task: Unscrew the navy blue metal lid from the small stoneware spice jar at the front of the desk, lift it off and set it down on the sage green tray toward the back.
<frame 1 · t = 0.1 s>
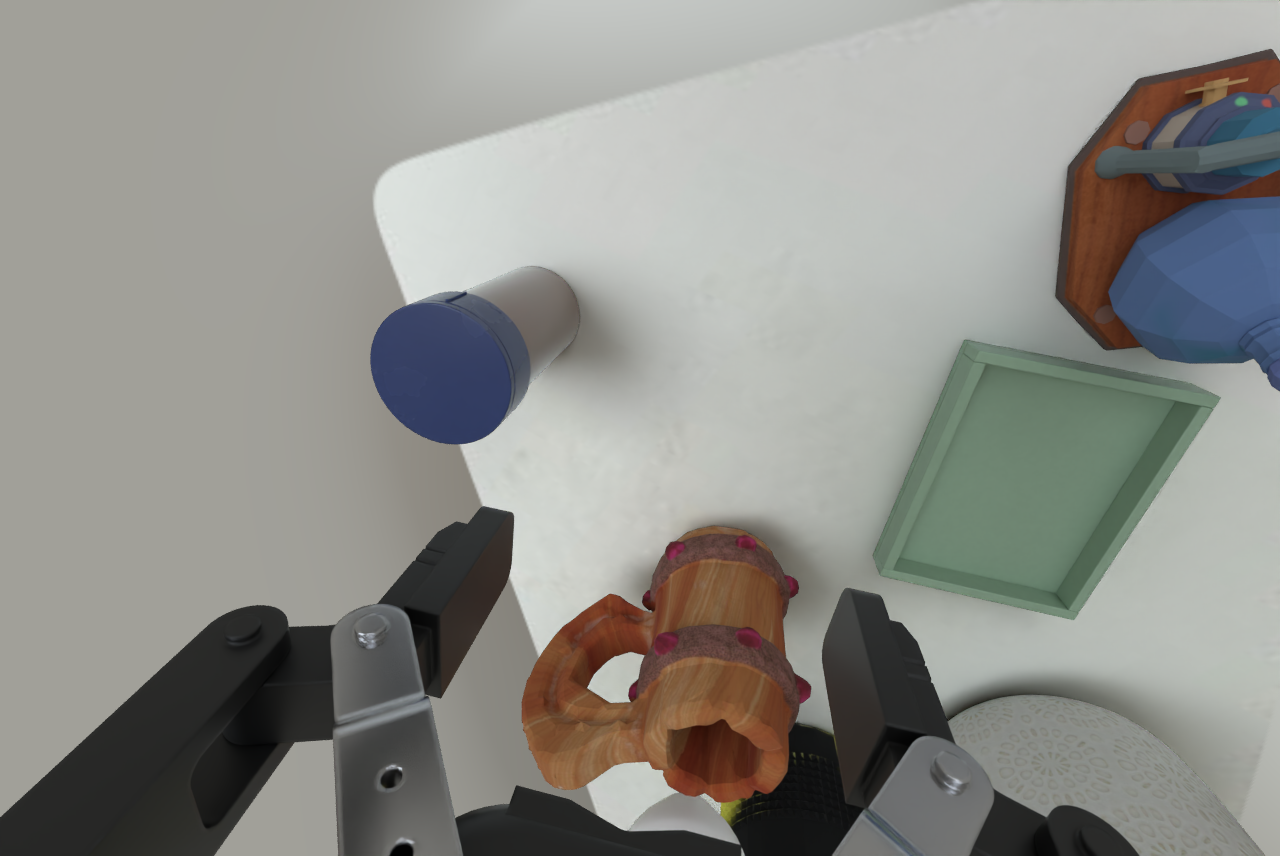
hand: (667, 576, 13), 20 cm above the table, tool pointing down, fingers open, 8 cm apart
jar: (536, 312, 32), on the table
container: (791, 763, 44), on the table
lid: (444, 374, 22), point 11 cm above the table, screwed on, not yet turned
champagne flute: (699, 665, 41), on the table
tray: (1014, 478, 32), on the table
mug: (683, 560, 38), on the table
model: (1172, 216, 26), on the table
planter: (1017, 744, 40), on the table
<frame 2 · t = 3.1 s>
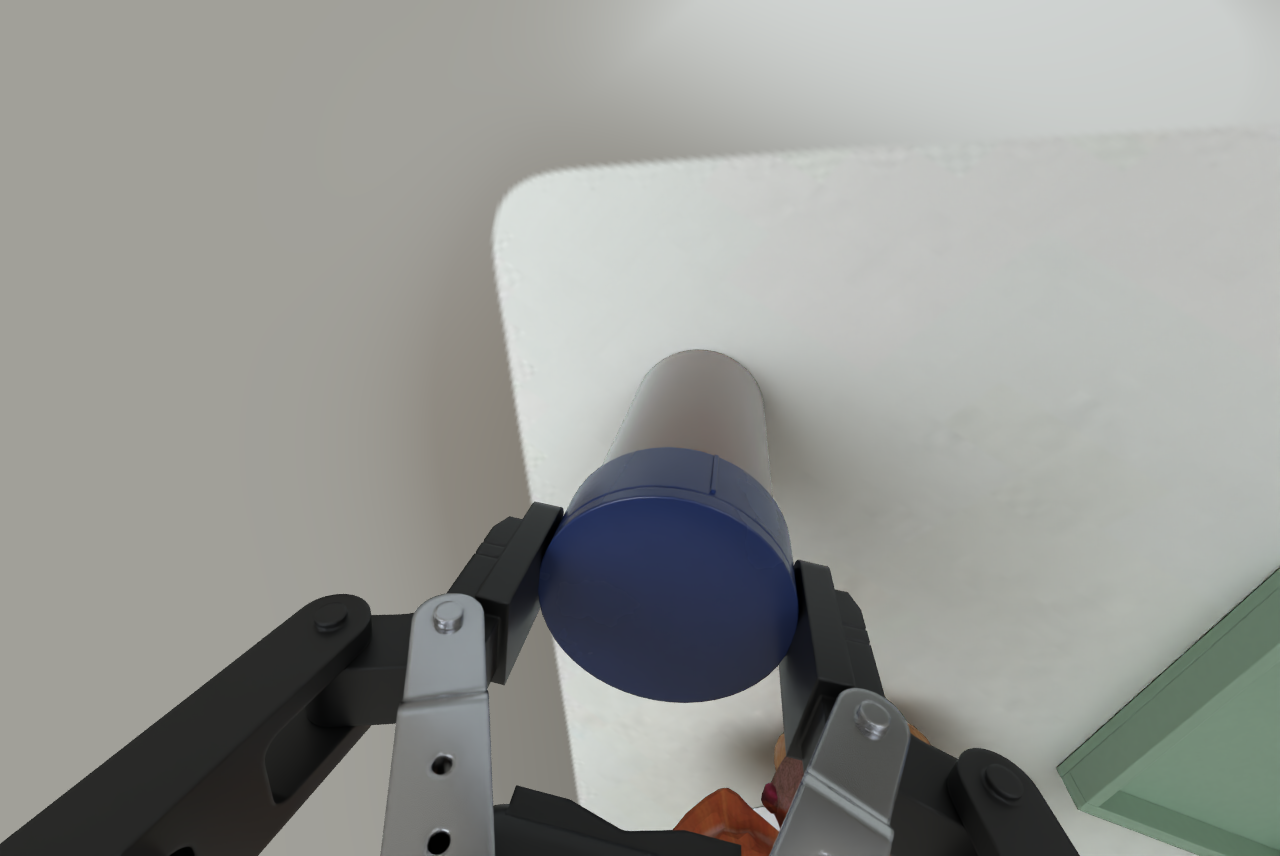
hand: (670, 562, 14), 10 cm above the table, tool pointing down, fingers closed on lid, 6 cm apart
jar: (698, 411, 23), on the table
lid: (665, 597, 13), point 11 cm above the table, screwed on, not yet turned, touching gripper
mug: (801, 729, 29), on the table
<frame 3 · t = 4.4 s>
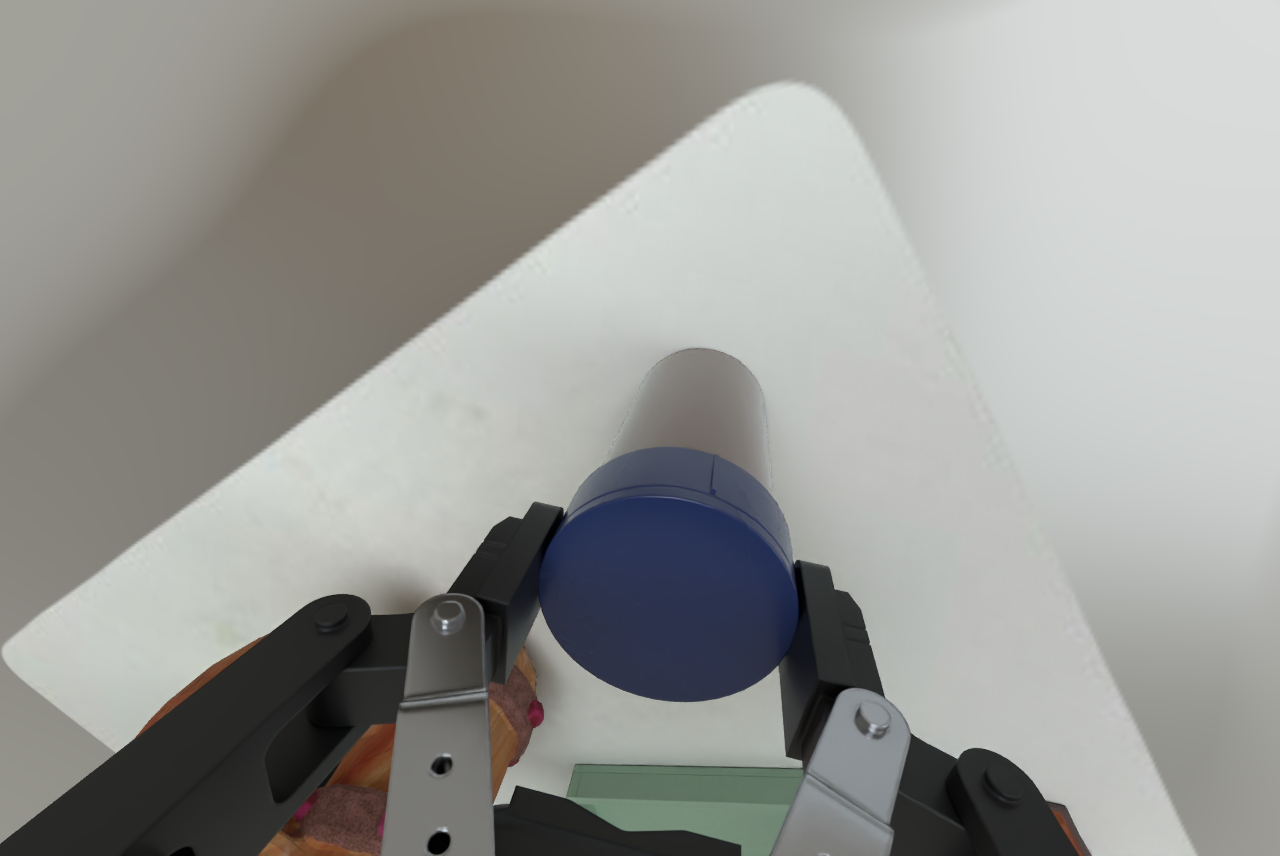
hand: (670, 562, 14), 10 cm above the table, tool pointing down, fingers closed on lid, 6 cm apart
jar: (699, 409, 23), on the table
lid: (665, 596, 13), point 11 cm above the table, turned 52° so far, risen 0.1 cm, still on its thread, touching gripper
tray: (705, 827, 34), on the table
mug: (457, 619, 31), on the table
model: (958, 845, 32), on the table
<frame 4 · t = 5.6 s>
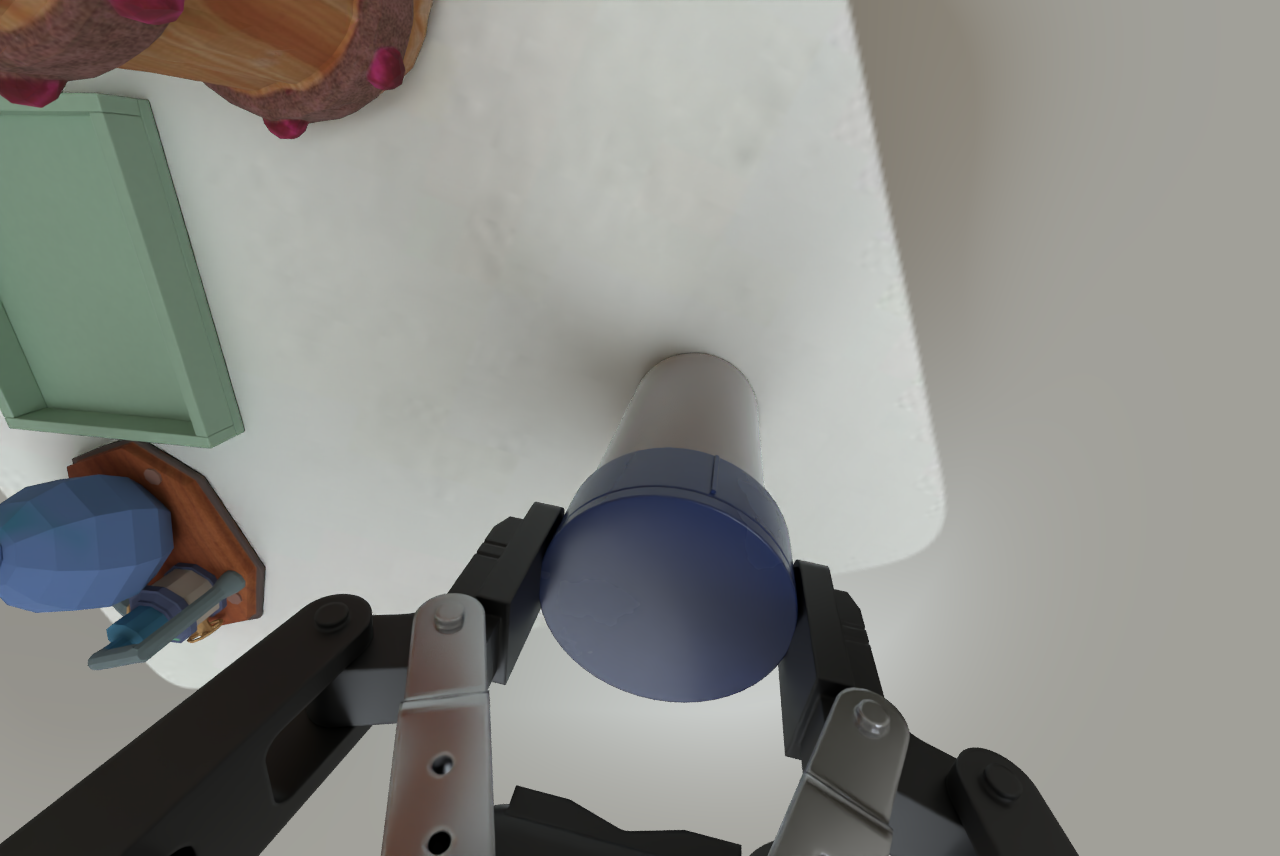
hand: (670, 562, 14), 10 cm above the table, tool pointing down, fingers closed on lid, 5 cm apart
jar: (694, 412, 23), on the table
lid: (665, 596, 13), point 12 cm above the table, off its thread, touching gripper
tray: (94, 279, 25), on the table
model: (178, 536, 31), on the table
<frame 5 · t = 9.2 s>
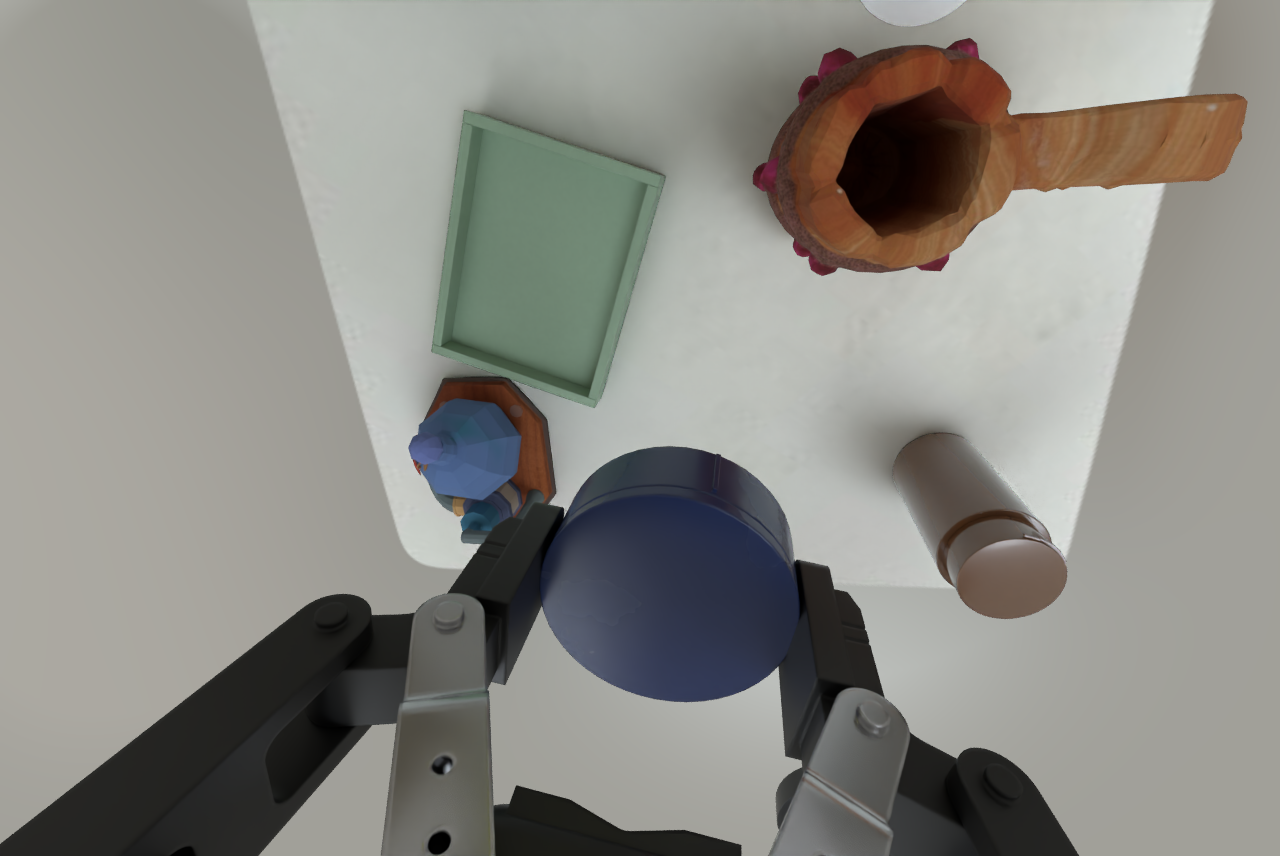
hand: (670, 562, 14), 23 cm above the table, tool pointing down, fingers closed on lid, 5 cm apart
jar: (935, 469, 36), on the table
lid: (666, 596, 13), point 24 cm above the table, off its thread, touching gripper
tray: (545, 267, 35), on the table
mug: (891, 167, 30), on the table
model: (492, 453, 41), on the table
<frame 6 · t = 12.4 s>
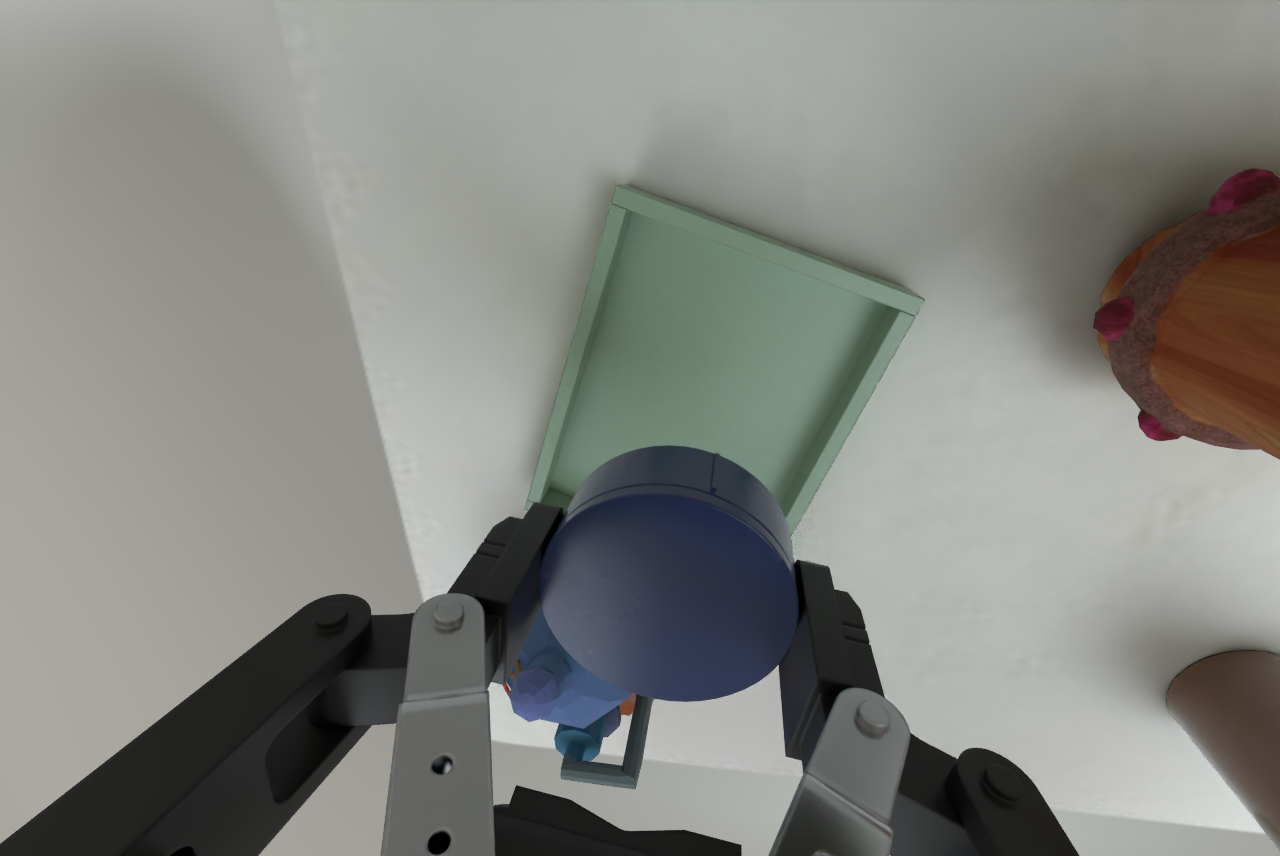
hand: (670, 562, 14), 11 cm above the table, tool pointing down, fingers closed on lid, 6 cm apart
jar: (1233, 693, 25), on the table
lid: (665, 595, 13), point 12 cm above the table, off its thread, touching gripper
tray: (699, 401, 24), on the table
model: (589, 621, 30), on the table
when the fingers open (1 cm above the table, at t = 15.1 s): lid stays where it is, resting on tray.
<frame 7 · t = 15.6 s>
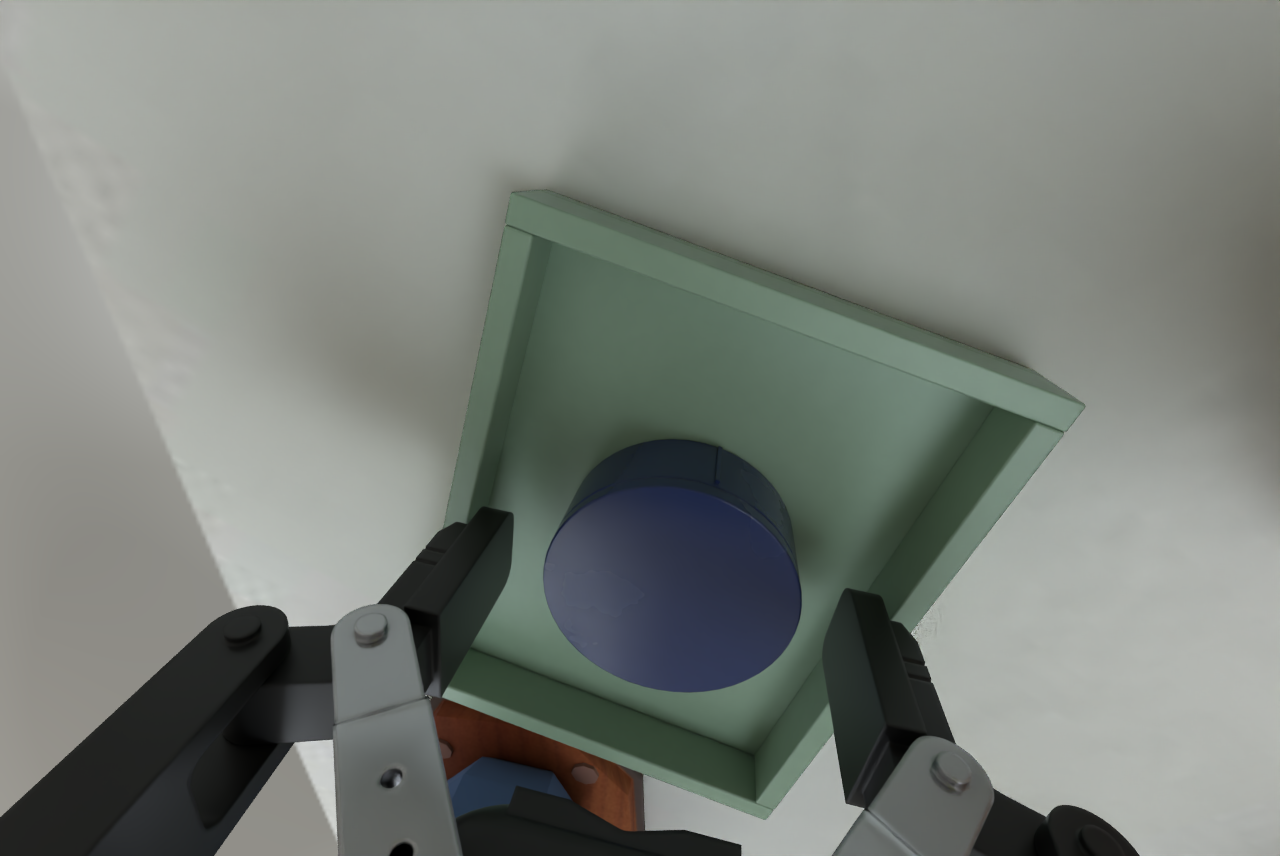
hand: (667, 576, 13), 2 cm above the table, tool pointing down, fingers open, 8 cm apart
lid: (669, 587, 13), point 2 cm above the table, off its thread, touching tray
tray: (676, 531, 15), on the table
model: (528, 800, 22), on the table
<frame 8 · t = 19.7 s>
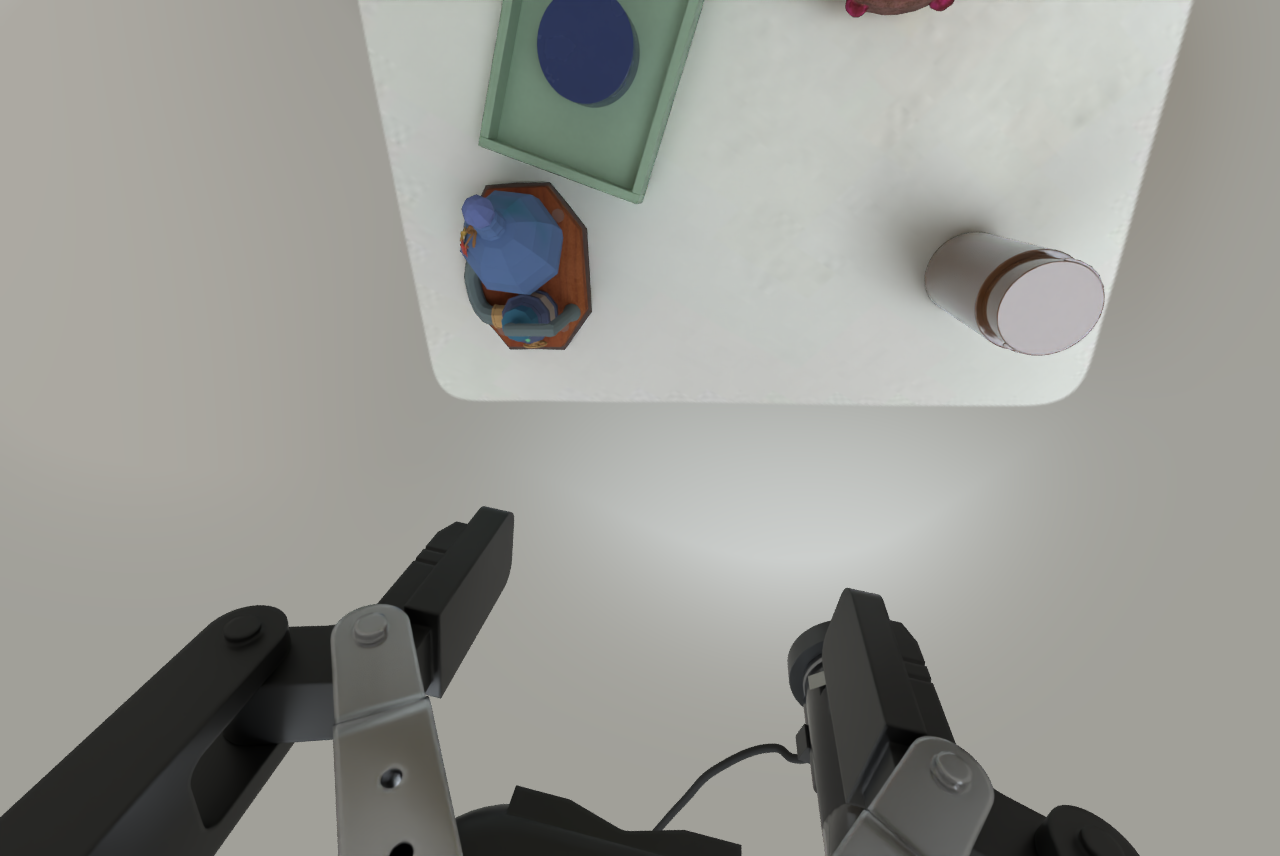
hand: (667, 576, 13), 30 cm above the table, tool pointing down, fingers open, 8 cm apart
jar: (966, 273, 37), on the table
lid: (586, 48, 33), point 2 cm above the table, off its thread, touching tray
tray: (594, 57, 35), on the table
model: (530, 270, 42), on the table
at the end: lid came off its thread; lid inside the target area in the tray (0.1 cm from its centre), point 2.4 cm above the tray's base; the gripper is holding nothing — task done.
